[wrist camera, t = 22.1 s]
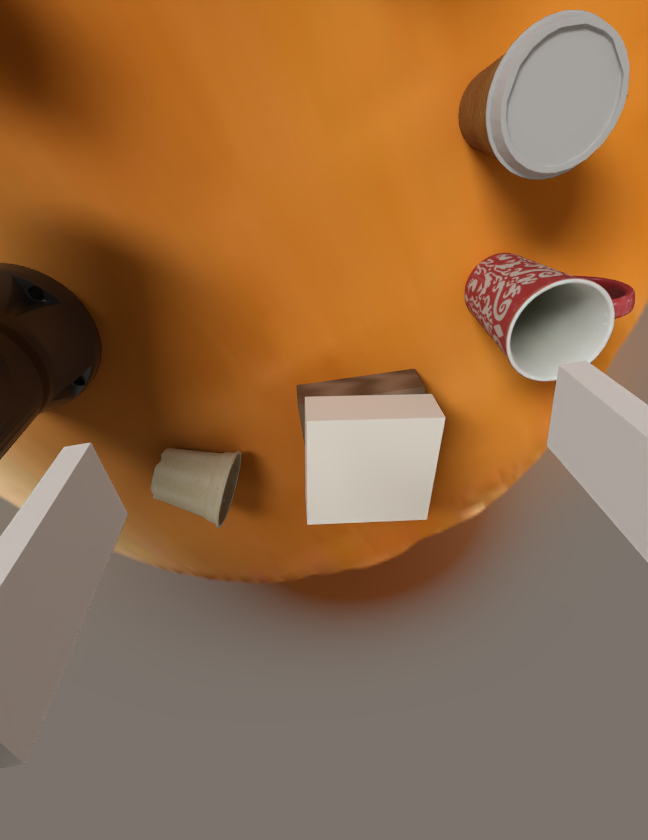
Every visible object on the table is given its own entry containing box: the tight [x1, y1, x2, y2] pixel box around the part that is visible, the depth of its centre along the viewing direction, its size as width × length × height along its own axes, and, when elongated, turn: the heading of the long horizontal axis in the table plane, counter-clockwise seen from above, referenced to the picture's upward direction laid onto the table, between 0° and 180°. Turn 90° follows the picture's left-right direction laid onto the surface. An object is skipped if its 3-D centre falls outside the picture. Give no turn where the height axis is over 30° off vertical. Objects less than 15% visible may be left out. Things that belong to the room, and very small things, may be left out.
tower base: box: [297, 369, 425, 443], centre depth 55 cm, size 14×14×5 cm
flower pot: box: [151, 448, 241, 528], centre depth 54 cm, size 9×9×9 cm
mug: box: [465, 253, 635, 382], centre depth 43 cm, size 13×9×14 cm
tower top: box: [305, 394, 446, 525], centre depth 51 cm, size 14×14×5 cm
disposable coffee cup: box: [459, 10, 630, 180], centre depth 35 cm, size 10×10×12 cm
